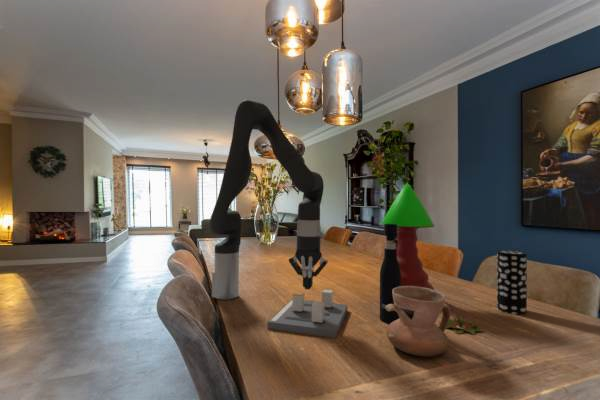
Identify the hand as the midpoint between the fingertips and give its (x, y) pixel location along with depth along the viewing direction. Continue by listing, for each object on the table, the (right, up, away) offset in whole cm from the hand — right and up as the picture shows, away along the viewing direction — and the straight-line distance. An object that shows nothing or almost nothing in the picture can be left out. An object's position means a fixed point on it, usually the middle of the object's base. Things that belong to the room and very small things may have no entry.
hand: (307, 288), depth 96 cm
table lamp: (+39, -10, +21) cm, 45 cm away
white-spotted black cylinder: (+71, -10, +8) cm, 72 cm away
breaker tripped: (-3, -7, 0) cm, 7 cm away
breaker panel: (+1, -9, -1) cm, 9 cm away
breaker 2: (+7, -7, +4) cm, 10 cm away
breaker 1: (+3, -7, -8) cm, 11 cm away
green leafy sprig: (+45, -10, -6) cm, 47 cm away
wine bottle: (+26, -10, -1) cm, 28 cm away
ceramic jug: (+28, -10, -19) cm, 35 cm away
